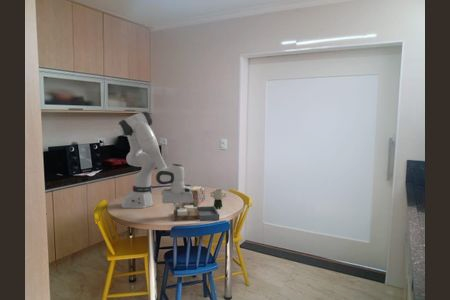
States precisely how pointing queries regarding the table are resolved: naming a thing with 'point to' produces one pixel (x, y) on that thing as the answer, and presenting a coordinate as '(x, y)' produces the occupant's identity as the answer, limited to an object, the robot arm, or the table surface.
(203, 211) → the box
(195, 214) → the board
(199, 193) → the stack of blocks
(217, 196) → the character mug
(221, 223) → the table surface
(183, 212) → the tile
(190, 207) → the tile
